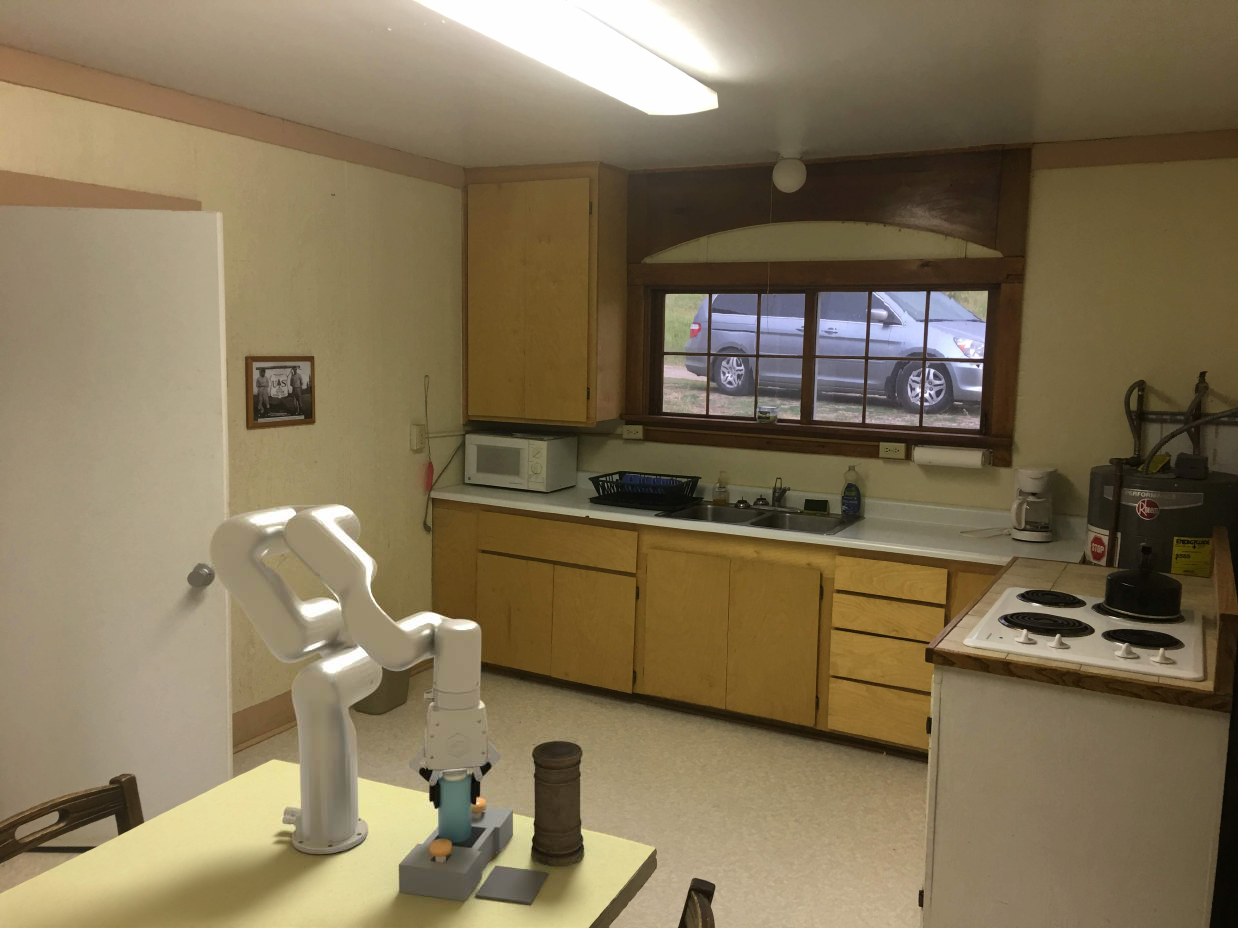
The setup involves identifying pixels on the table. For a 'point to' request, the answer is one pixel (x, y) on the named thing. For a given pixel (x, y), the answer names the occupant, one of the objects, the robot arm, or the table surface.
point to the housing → (456, 859)
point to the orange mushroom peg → (478, 808)
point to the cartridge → (454, 805)
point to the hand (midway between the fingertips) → (454, 801)
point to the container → (557, 803)
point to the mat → (512, 885)
